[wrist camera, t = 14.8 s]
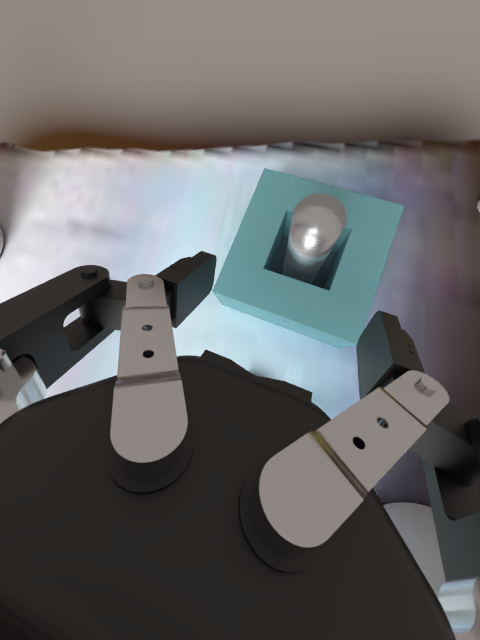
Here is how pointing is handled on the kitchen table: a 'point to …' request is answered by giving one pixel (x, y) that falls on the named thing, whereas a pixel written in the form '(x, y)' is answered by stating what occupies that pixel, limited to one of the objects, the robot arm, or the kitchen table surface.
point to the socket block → (296, 296)
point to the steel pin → (313, 235)
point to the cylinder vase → (419, 538)
